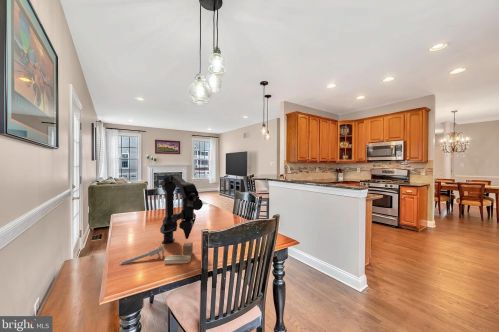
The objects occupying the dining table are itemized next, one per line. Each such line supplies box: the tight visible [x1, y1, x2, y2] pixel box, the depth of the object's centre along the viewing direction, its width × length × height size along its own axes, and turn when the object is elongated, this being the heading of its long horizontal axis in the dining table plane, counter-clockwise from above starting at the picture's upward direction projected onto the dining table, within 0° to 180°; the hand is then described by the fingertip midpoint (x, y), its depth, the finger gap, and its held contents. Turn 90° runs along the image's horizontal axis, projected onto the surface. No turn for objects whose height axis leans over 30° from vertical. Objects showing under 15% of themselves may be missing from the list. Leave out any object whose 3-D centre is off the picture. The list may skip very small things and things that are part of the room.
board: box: [164, 254, 191, 265], centre depth 106 cm, size 4×12×2 cm, turn 98°
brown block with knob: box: [182, 241, 194, 257], centre depth 113 cm, size 4×4×6 cm
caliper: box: [118, 245, 165, 266], centre depth 107 cm, size 20×1×6 cm, turn 119°
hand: (188, 235), depth 113 cm, fingers open, 9 cm apart
